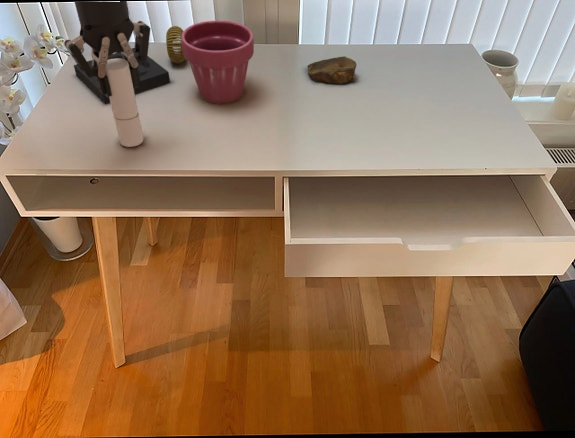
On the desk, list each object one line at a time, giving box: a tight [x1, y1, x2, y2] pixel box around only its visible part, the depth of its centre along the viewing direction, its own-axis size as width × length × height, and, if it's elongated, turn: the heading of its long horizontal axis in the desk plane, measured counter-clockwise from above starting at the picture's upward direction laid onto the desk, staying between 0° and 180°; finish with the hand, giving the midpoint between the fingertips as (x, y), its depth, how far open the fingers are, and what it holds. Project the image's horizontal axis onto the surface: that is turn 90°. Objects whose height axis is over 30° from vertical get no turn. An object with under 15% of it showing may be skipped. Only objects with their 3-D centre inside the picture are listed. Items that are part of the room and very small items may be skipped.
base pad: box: [73, 47, 171, 105], centre depth 111 cm, size 15×15×2 cm
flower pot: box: [181, 20, 255, 104], centre depth 104 cm, size 14×14×13 cm
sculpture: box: [165, 25, 186, 64], centre depth 116 cm, size 8×4×8 cm, turn 6°
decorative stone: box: [306, 55, 357, 85], centre depth 114 cm, size 10×9×4 cm
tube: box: [105, 58, 145, 148], centre depth 90 cm, size 4×4×15 cm
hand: (120, 90), depth 88 cm, fingers closed on tube, 4 cm apart
